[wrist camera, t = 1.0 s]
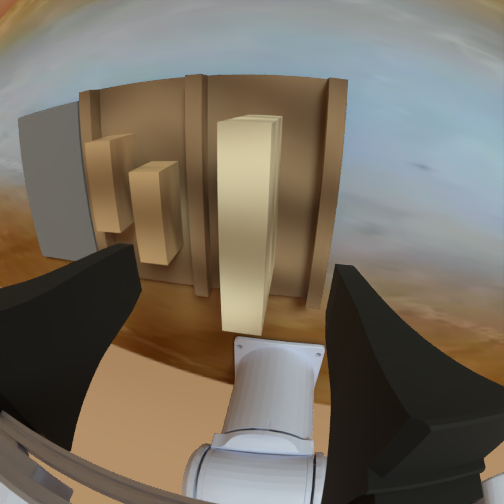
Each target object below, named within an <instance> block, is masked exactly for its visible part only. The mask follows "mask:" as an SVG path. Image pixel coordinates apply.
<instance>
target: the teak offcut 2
mask: <svg viewBox="0 0 504 504" xmlns="http://www.w3.org/2000/svg"><path fill="white" fill-rule="evenodd" d="M129 182H130V191H131V200H132V208H133V216H134V223H135V230H136V237H137V243H138V249H139V255H140V261H141V262H145V263H153V264H161V265H168V264H169V263H170V262H171V260H172V259H173V258H174V256H175V255H176V254H177V252H178V251H179V250H180V248H181V247H182V246H183V244H184V241H183V229H182V216H181V201H180V184H179V163H178V161H151V162H149V163H147V164H145V165H143V166H140V167H138V168H136V169H134V170H132V171H130V172H129Z"/></svg>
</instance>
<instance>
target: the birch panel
mask: <svg viewBox="0 0 504 504" xmlns="http://www.w3.org/2000/svg"><path fill="white" fill-rule="evenodd" d="M282 118H283V116H269V115H245V116H241V117H236V118H232V119H228V120H224V121H220V122H217V182H218V233H219V266H220V292H221V314H222V331H229V332H236V333H244V334H252V335H260V336H261V334H262V328H263V323H264V318H265V313H266V307H267V302H268V296H269V291H270V286H271V280H272V274H273V269H274V260H275V245H276V230H277V214H278V198H279V180H280V161H281V141H282Z"/></svg>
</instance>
